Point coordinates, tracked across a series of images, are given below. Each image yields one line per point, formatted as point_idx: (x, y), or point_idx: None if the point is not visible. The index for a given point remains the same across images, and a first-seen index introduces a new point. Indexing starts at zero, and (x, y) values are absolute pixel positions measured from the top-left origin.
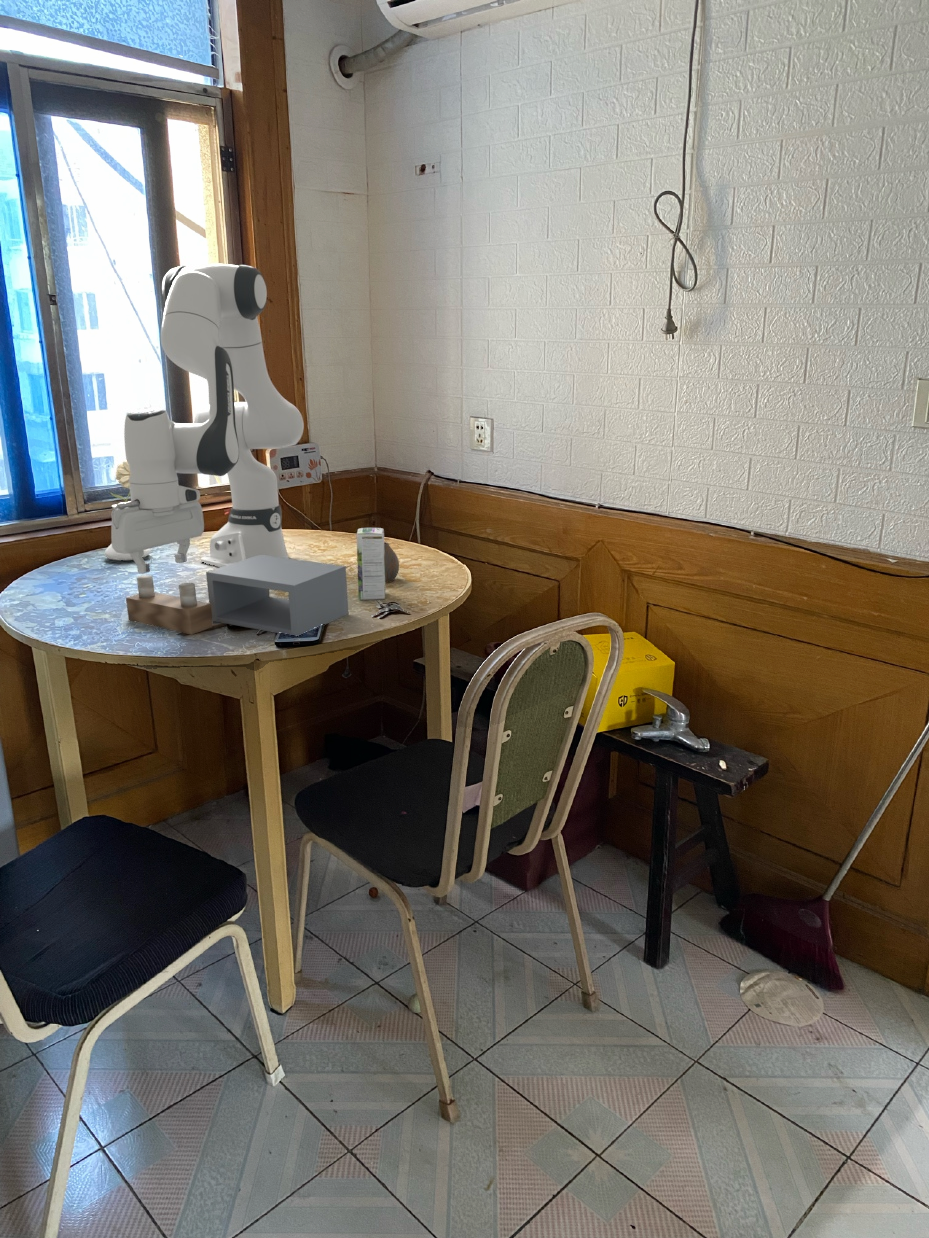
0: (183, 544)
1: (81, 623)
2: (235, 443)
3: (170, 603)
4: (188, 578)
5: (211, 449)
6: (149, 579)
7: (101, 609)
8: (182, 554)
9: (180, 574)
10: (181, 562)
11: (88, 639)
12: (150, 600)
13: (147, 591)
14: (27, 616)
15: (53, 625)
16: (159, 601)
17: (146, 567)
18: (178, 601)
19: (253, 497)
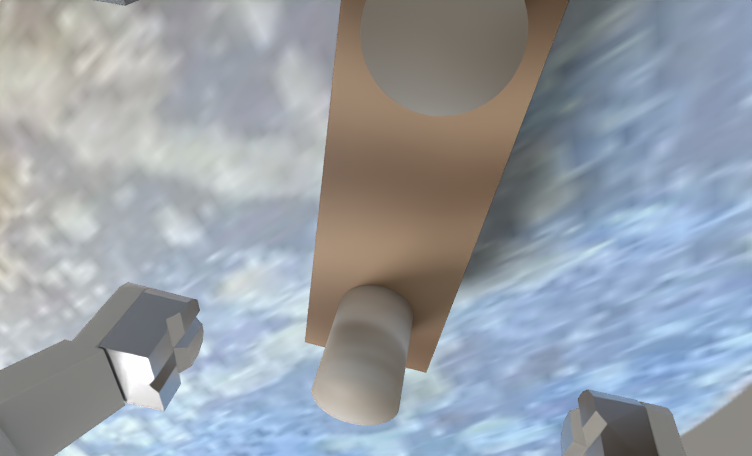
0: (10, 448)
1: (507, 395)
2: None
3: (458, 140)
4: (3, 337)
5: None
6: (366, 367)
7: None
8: (126, 352)
9: (2, 368)
10: (190, 298)
11: (697, 310)
12: (434, 268)
13: (395, 322)
14: None
15: (543, 442)
16: (438, 220)
17: (650, 444)
18: (404, 117)
19: None
